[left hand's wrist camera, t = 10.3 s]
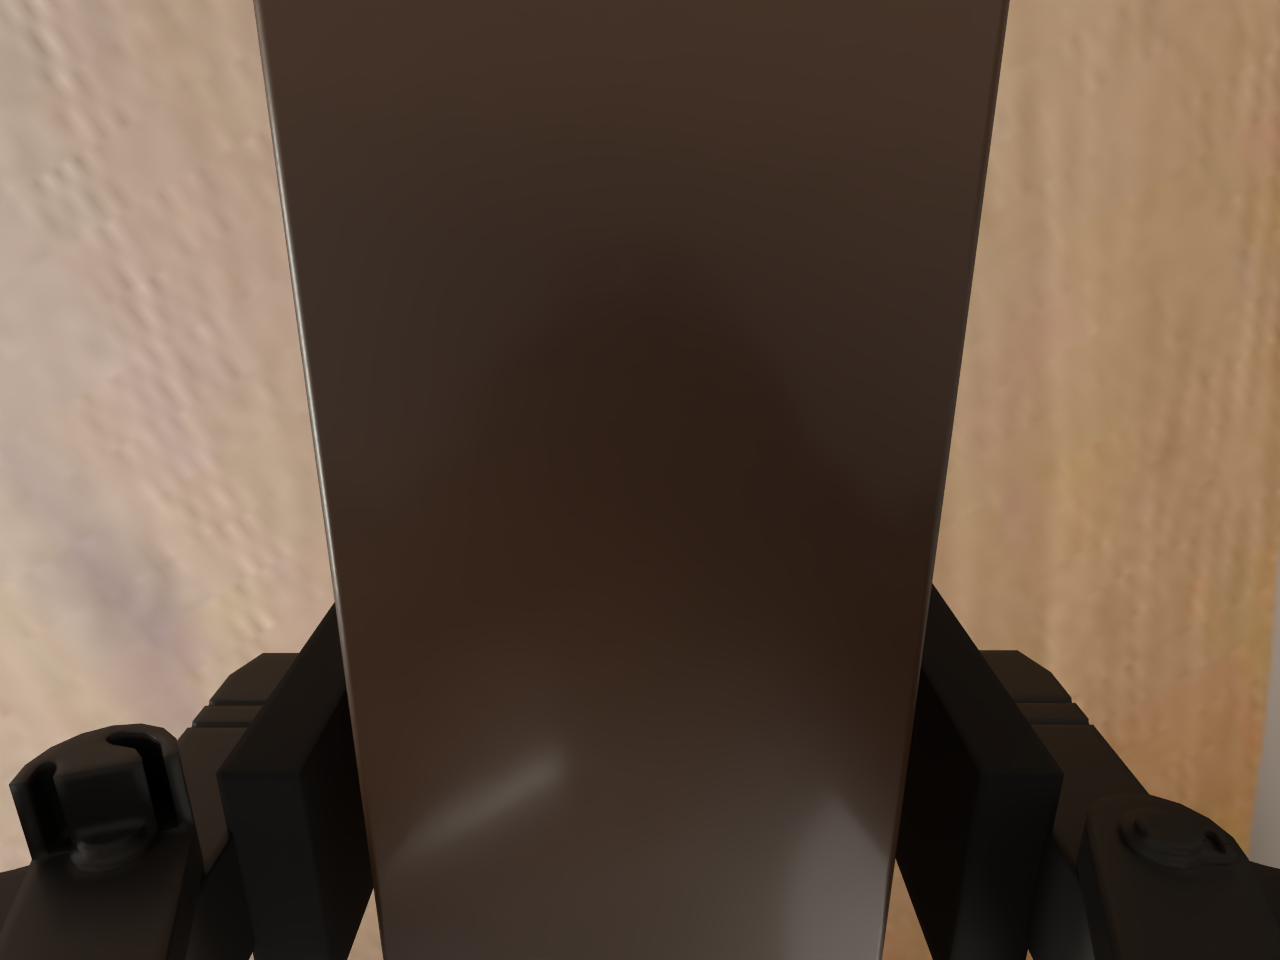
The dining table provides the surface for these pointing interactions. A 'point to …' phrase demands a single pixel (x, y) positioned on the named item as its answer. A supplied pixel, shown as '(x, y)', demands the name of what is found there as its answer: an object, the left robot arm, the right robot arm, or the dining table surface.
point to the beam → (632, 447)
